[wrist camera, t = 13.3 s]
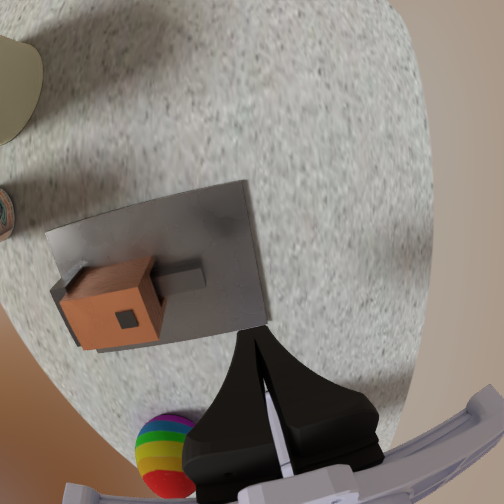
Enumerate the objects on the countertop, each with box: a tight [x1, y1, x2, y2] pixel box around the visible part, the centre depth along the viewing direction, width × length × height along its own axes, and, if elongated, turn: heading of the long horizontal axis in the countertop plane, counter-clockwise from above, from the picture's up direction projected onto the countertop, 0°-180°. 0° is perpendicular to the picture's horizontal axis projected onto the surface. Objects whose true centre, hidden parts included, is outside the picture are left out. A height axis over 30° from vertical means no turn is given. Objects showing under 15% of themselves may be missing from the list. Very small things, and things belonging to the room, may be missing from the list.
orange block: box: [59, 256, 167, 350], centre depth 19 cm, size 4×6×5 cm, turn 100°
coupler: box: [45, 180, 268, 353], centre depth 20 cm, size 12×16×4 cm
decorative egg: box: [135, 415, 196, 499], centre depth 24 cm, size 8×8×10 cm
